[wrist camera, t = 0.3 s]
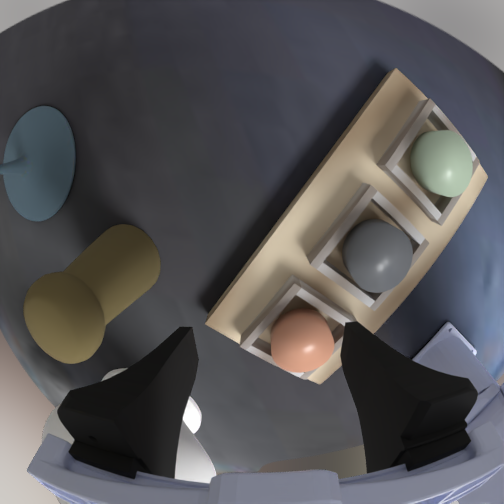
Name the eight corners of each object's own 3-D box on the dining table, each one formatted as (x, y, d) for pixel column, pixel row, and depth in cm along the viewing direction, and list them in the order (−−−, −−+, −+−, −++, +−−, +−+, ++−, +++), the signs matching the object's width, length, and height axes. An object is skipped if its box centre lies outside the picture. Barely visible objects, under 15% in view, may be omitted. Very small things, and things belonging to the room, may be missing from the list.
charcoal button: (410, 243, 17) (423, 252, 16) (372, 290, 19) (382, 303, 17) (369, 205, 17) (381, 211, 15) (329, 257, 18) (336, 269, 16)
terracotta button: (340, 326, 20) (346, 341, 18) (303, 363, 21) (306, 380, 19) (295, 297, 19) (299, 312, 17) (258, 339, 20) (258, 356, 18)
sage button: (464, 161, 15) (480, 163, 13) (437, 204, 16) (452, 210, 15) (429, 118, 15) (445, 116, 13) (399, 163, 16) (414, 165, 14)
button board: (477, 174, 18) (499, 179, 15) (317, 373, 24) (322, 396, 22) (387, 72, 16) (405, 62, 13) (208, 313, 22) (201, 334, 20)
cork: (101, 215, 20) (3, 264, 9) (167, 236, 20) (92, 311, 10) (94, 279, 22) (18, 350, 11) (154, 303, 22) (96, 396, 12)
